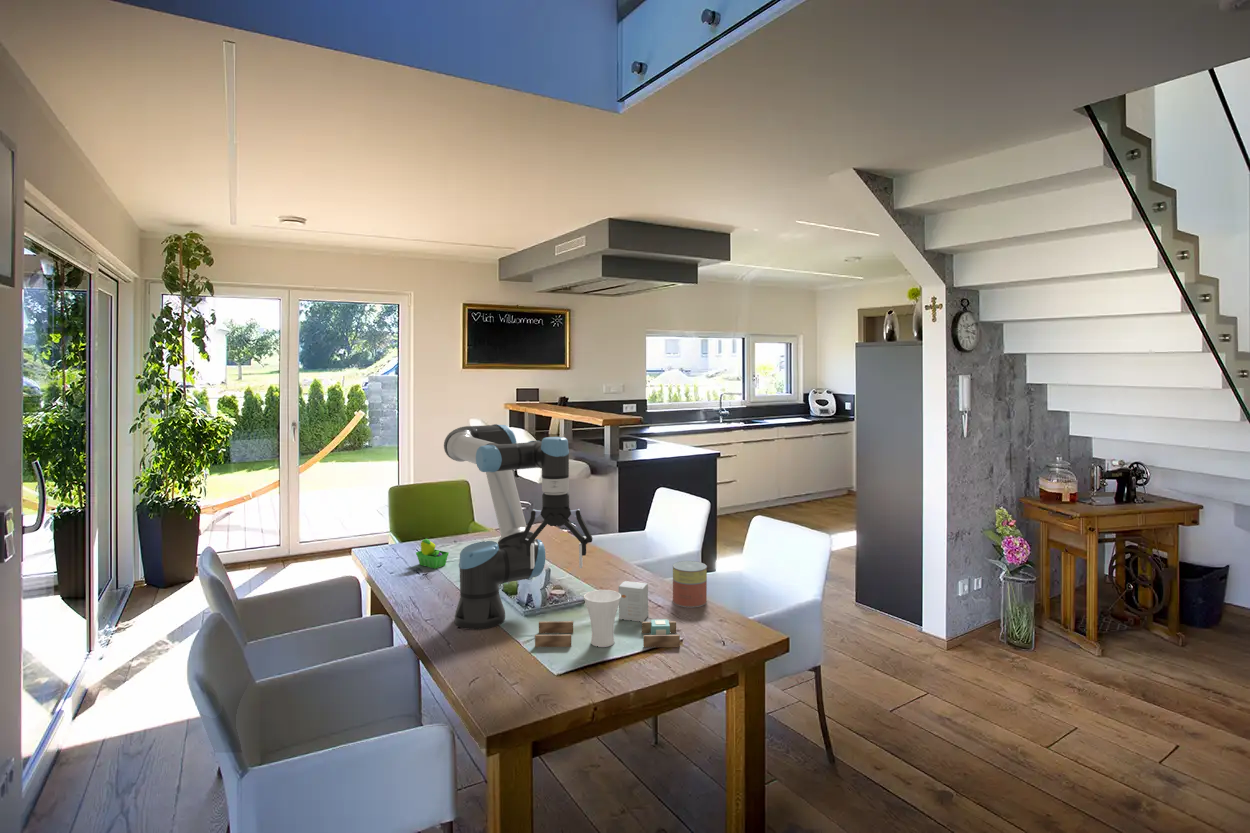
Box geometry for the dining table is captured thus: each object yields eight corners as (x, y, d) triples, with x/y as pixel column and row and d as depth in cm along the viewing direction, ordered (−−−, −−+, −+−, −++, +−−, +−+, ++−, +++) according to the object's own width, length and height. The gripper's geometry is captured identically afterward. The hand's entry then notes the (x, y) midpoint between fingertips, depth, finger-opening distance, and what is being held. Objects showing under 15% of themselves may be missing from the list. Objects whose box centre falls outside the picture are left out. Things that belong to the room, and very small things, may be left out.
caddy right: (643, 647, 187) (643, 636, 187) (641, 632, 198) (641, 621, 197) (679, 647, 187) (679, 635, 187) (676, 632, 198) (676, 621, 198)
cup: (607, 653, 183) (607, 604, 182) (576, 645, 189) (576, 597, 188) (628, 640, 192) (628, 593, 191) (597, 632, 198) (597, 587, 197)
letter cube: (652, 643, 190) (652, 625, 189) (650, 636, 195) (650, 619, 195) (669, 643, 190) (669, 625, 190) (668, 636, 195) (668, 618, 195)
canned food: (713, 601, 224) (713, 565, 223) (692, 610, 216) (693, 573, 215) (686, 593, 232) (686, 558, 231) (665, 601, 223) (665, 566, 223)
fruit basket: (450, 565, 265) (449, 536, 264) (432, 571, 258) (432, 541, 257) (430, 560, 271) (429, 533, 270) (412, 566, 264) (411, 537, 263)
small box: (648, 616, 211) (648, 583, 210) (643, 622, 205) (643, 588, 205) (624, 613, 213) (624, 580, 212) (618, 619, 208) (618, 585, 207)
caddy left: (535, 647, 187) (534, 635, 187) (539, 632, 198) (539, 621, 198) (571, 646, 188) (571, 635, 187) (573, 631, 198) (573, 621, 198)
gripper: (508, 495, 186) (510, 571, 187) (599, 494, 186) (600, 570, 187) (513, 490, 193) (514, 563, 195) (600, 489, 193) (601, 562, 195)
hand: (556, 567), depth 191 cm, fingers open, 13 cm apart
